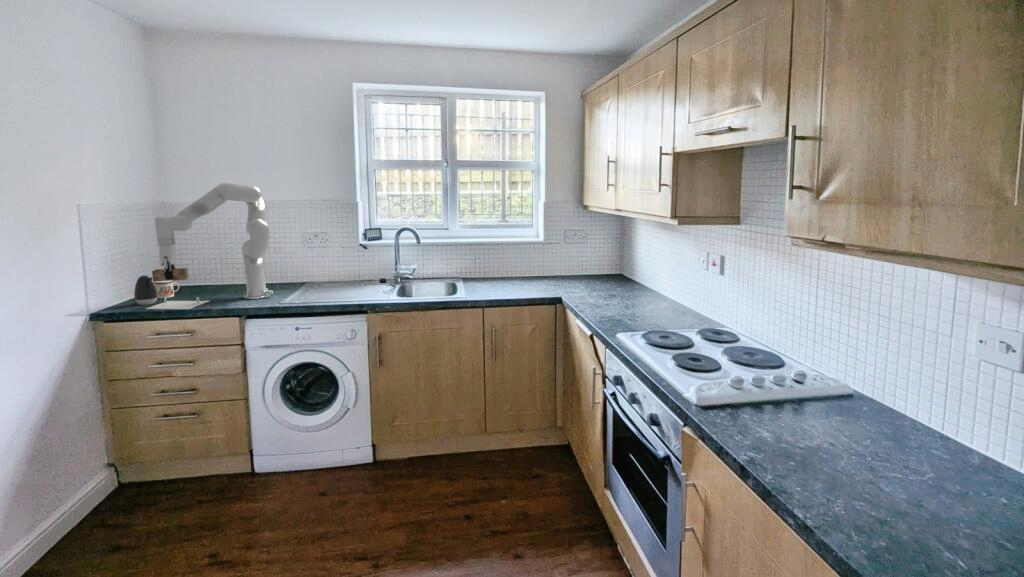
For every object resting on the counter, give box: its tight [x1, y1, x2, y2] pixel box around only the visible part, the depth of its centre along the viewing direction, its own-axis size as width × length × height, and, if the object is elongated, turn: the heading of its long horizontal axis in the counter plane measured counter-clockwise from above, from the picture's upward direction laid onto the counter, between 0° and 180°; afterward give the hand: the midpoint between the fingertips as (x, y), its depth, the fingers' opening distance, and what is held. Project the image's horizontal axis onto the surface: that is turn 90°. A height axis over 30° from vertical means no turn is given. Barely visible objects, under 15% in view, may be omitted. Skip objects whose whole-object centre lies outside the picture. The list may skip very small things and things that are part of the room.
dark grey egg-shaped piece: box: [133, 274, 158, 306], centre depth 284 cm, size 10×10×15 cm
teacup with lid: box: [153, 280, 180, 300], centre depth 303 cm, size 12×9×12 cm
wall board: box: [145, 296, 210, 310], centre depth 282 cm, size 22×19×4 cm
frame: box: [151, 267, 189, 283], centre depth 275 cm, size 14×6×5 cm, turn 109°
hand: (170, 277), depth 276 cm, fingers closed on frame, 6 cm apart
